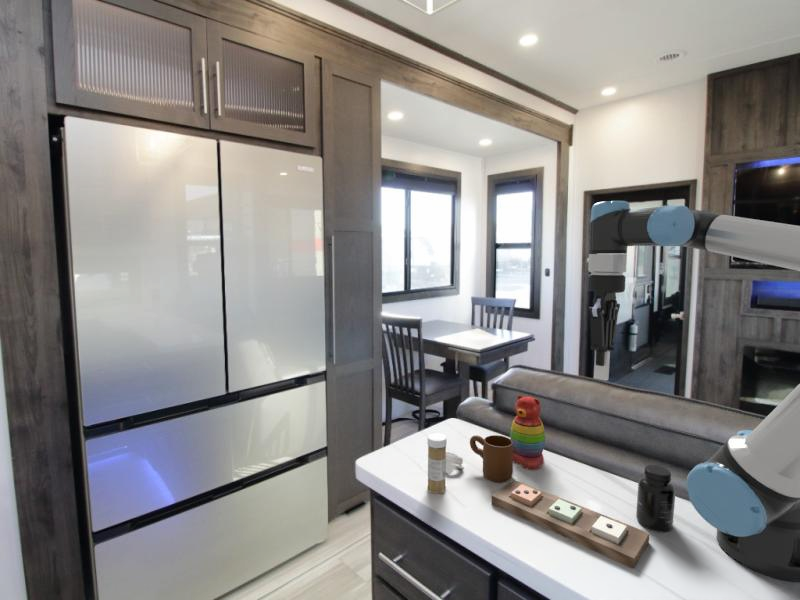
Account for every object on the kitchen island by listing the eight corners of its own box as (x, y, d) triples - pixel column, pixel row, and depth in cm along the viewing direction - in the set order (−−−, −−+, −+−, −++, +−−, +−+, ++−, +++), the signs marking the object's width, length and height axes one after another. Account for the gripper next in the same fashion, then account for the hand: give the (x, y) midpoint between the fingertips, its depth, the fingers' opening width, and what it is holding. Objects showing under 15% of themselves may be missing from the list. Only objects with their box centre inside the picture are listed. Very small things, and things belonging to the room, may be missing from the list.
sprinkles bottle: (435, 482, 110) (435, 431, 108) (449, 489, 106) (450, 436, 105) (423, 489, 106) (423, 436, 105) (438, 496, 103) (438, 442, 102)
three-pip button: (541, 504, 100) (541, 491, 99) (530, 513, 96) (531, 500, 96) (521, 496, 103) (521, 483, 103) (510, 504, 100) (511, 491, 99)
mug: (462, 471, 115) (463, 437, 114) (476, 460, 121) (477, 428, 120) (504, 486, 108) (505, 450, 107) (517, 474, 114) (518, 439, 113)
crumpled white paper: (431, 469, 118) (429, 452, 118) (448, 459, 123) (446, 443, 122) (452, 479, 112) (451, 461, 112) (469, 468, 116) (468, 451, 116)
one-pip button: (625, 540, 87) (626, 525, 87) (617, 552, 84) (618, 536, 84) (600, 529, 91) (600, 514, 91) (591, 540, 87) (591, 525, 87)
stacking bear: (499, 457, 123) (500, 396, 121) (520, 447, 130) (522, 389, 128) (532, 471, 115) (534, 406, 113) (553, 460, 122) (555, 398, 120)
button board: (648, 542, 87) (649, 533, 87) (633, 568, 80) (634, 558, 79) (513, 487, 107) (513, 479, 107) (491, 503, 100) (491, 495, 100)
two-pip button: (580, 521, 94) (581, 507, 93) (571, 531, 90) (572, 517, 90) (558, 511, 97) (558, 498, 97) (548, 521, 93) (548, 507, 93)
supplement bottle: (628, 517, 95) (631, 464, 94) (651, 510, 98) (654, 459, 96) (656, 536, 89) (660, 480, 88) (680, 528, 91) (684, 474, 90)
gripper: (599, 272, 102) (594, 370, 105) (577, 274, 93) (572, 381, 96) (634, 273, 97) (628, 376, 100) (614, 275, 88) (608, 388, 90)
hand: (601, 378), depth 98 cm, fingers closed
